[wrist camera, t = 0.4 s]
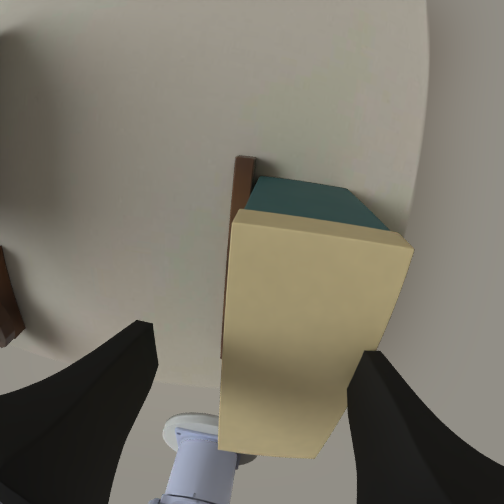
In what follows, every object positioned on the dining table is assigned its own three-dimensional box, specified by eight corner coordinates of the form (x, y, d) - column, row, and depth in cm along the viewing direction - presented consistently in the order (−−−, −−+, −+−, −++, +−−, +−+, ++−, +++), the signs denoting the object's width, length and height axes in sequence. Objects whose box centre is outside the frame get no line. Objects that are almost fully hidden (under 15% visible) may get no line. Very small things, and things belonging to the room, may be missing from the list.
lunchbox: (309, 352, 20) (315, 458, 12) (239, 344, 21) (217, 449, 12) (349, 187, 16) (415, 248, 7) (257, 173, 16) (231, 222, 8)
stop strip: (235, 352, 21) (233, 361, 20) (222, 350, 21) (220, 359, 20) (256, 157, 15) (254, 158, 15) (237, 155, 15) (235, 156, 15)
